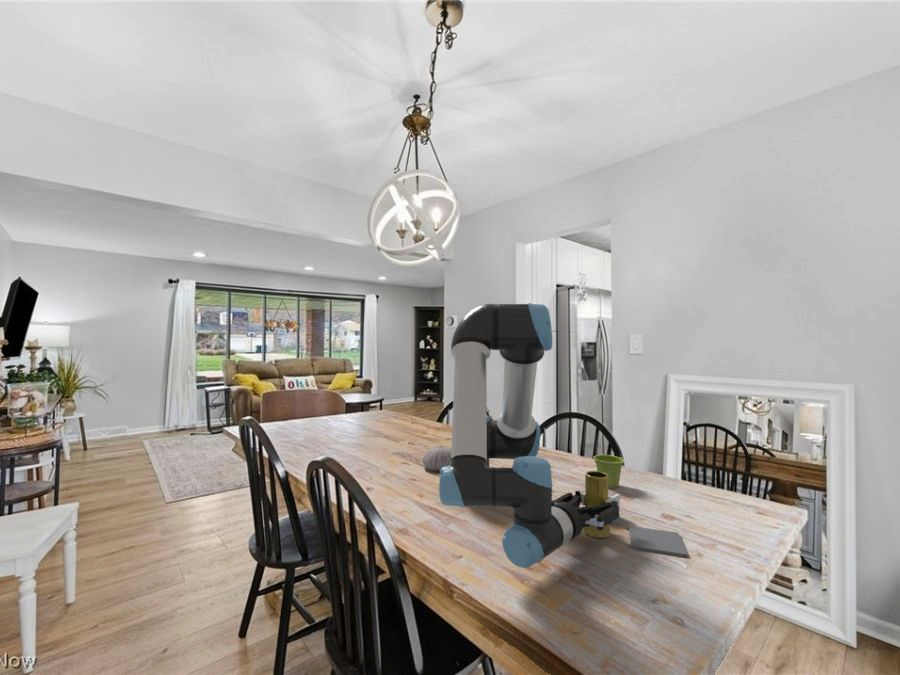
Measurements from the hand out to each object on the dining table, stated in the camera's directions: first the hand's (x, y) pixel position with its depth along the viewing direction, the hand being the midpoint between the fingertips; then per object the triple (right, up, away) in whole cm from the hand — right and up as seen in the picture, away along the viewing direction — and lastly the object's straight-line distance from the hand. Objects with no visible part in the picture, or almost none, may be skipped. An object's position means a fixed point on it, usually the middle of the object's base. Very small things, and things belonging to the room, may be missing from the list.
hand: (606, 496), depth 104 cm
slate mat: (+9, -7, -8) cm, 14 cm away
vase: (-4, -8, -4) cm, 9 cm away
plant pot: (+13, -8, +31) cm, 34 cm away
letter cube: (+3, -8, +5) cm, 9 cm away
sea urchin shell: (-43, -9, +49) cm, 66 cm away
